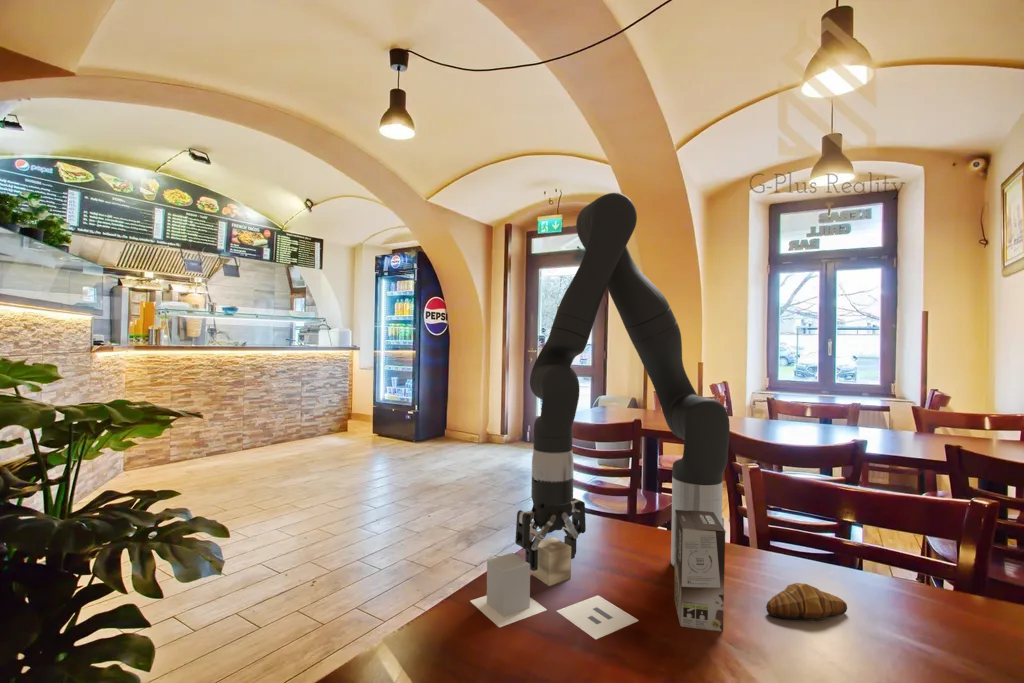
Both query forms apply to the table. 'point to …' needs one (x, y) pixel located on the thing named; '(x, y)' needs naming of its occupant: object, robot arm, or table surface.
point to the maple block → (553, 561)
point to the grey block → (508, 584)
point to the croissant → (805, 603)
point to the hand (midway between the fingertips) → (551, 563)
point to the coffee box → (699, 569)
